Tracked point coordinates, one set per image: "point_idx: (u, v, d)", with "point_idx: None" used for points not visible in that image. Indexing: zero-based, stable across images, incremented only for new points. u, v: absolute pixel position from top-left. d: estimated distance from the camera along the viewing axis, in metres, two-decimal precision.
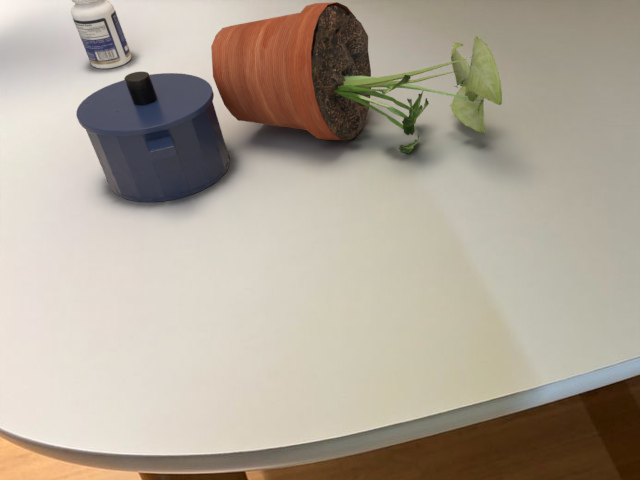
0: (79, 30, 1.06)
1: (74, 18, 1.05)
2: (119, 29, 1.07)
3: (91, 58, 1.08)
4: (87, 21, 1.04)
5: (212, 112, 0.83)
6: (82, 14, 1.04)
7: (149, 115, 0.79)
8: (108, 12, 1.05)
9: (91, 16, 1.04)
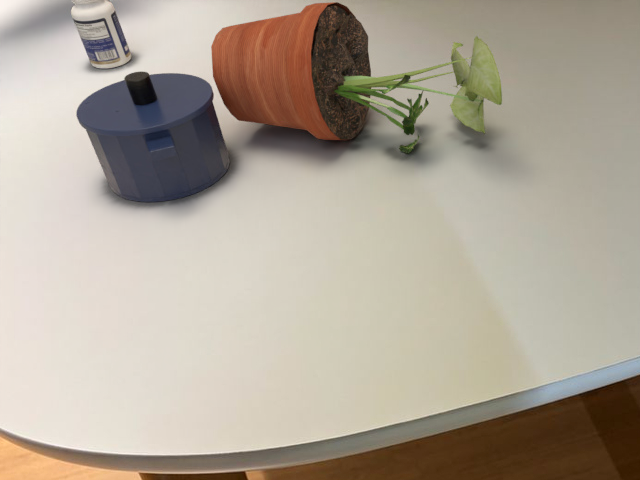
0: (79, 30, 1.06)
1: (74, 18, 1.05)
2: (119, 29, 1.07)
3: (91, 58, 1.08)
4: (87, 21, 1.04)
5: (212, 112, 0.83)
6: (82, 14, 1.04)
7: (149, 115, 0.79)
8: (108, 12, 1.05)
9: (91, 16, 1.04)
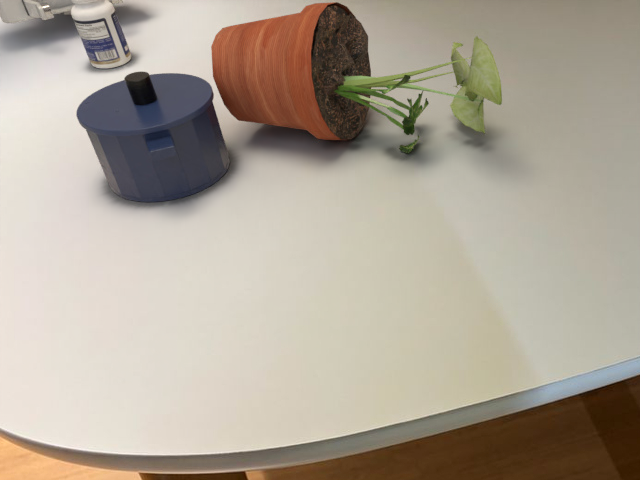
0: (79, 30, 1.06)
1: (74, 18, 1.05)
2: (119, 29, 1.07)
3: (91, 58, 1.08)
4: (87, 21, 1.04)
5: (212, 112, 0.83)
6: (82, 14, 1.04)
7: (149, 115, 0.79)
8: (108, 12, 1.05)
9: (91, 16, 1.04)
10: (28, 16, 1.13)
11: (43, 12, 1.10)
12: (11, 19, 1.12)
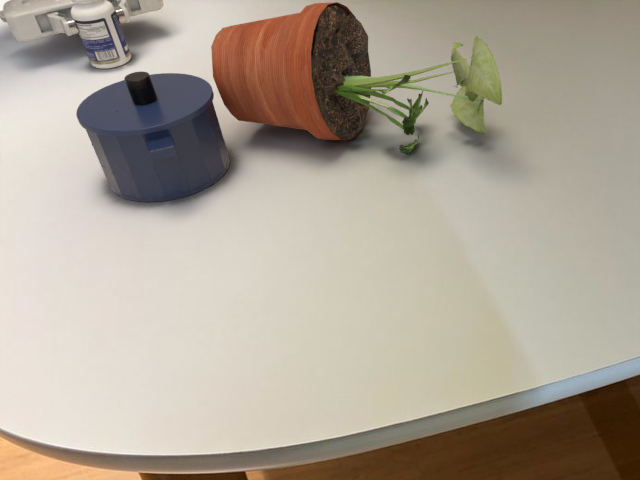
0: (79, 30, 1.06)
1: (74, 18, 1.05)
2: (119, 29, 1.07)
3: (91, 58, 1.08)
4: (86, 21, 1.04)
5: (212, 112, 0.83)
6: (82, 14, 1.04)
7: (149, 115, 0.79)
8: (108, 12, 1.05)
9: (91, 16, 1.04)
10: (42, 34, 1.07)
11: (68, 27, 1.05)
12: (24, 37, 1.06)
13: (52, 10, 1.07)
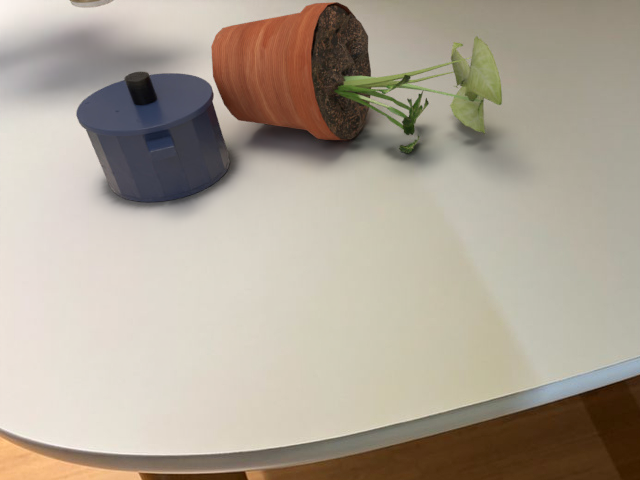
0: None
1: None
2: None
3: None
4: None
5: (212, 112, 0.83)
6: None
7: (149, 115, 0.79)
8: None
9: None
10: None
11: None
12: None
13: None
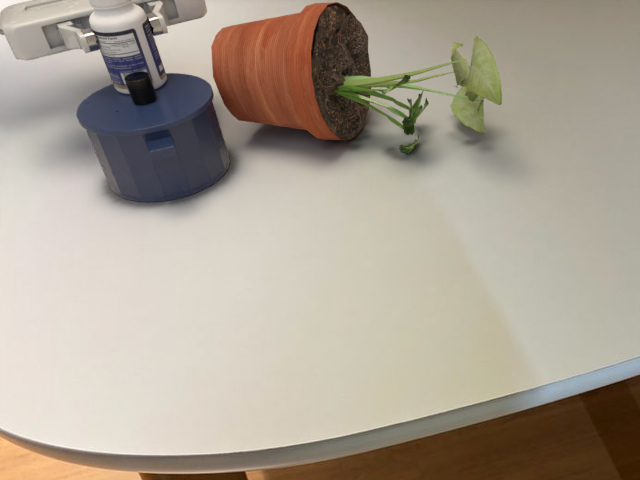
0: (100, 44, 0.80)
1: (94, 29, 0.79)
2: (152, 43, 0.81)
3: (115, 81, 0.82)
4: (110, 32, 0.78)
5: (212, 112, 0.83)
6: (104, 24, 0.78)
7: (149, 115, 0.79)
8: (139, 20, 0.79)
9: (117, 26, 0.78)
10: (50, 50, 0.81)
11: (86, 42, 0.79)
12: (27, 55, 0.81)
13: (64, 19, 0.81)
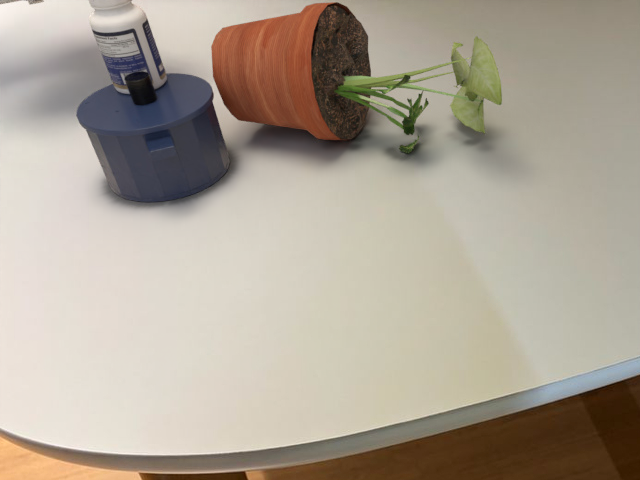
0: (100, 44, 0.80)
1: (94, 29, 0.79)
2: (152, 43, 0.81)
3: (115, 81, 0.82)
4: (110, 32, 0.78)
5: (212, 112, 0.83)
6: (104, 24, 0.78)
7: (149, 115, 0.79)
8: (139, 21, 0.79)
9: (117, 26, 0.78)
10: None
11: None
12: None
13: None
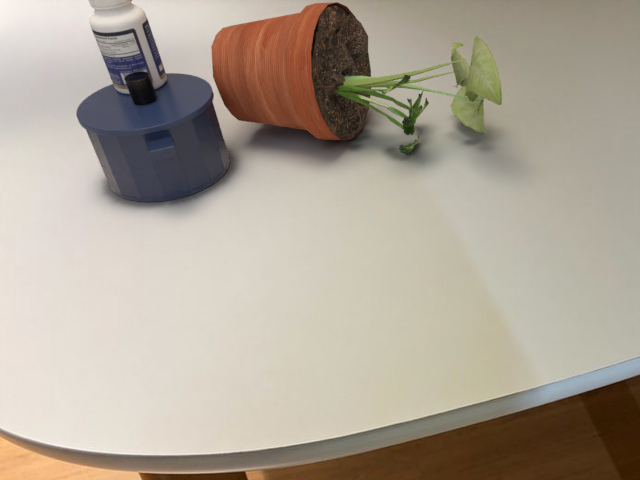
0: (100, 44, 0.80)
1: (94, 29, 0.79)
2: (152, 43, 0.81)
3: (115, 81, 0.82)
4: (110, 32, 0.78)
5: (212, 112, 0.83)
6: (104, 24, 0.78)
7: (149, 115, 0.79)
8: (139, 21, 0.79)
9: (117, 26, 0.78)
10: None
11: None
12: None
13: None
